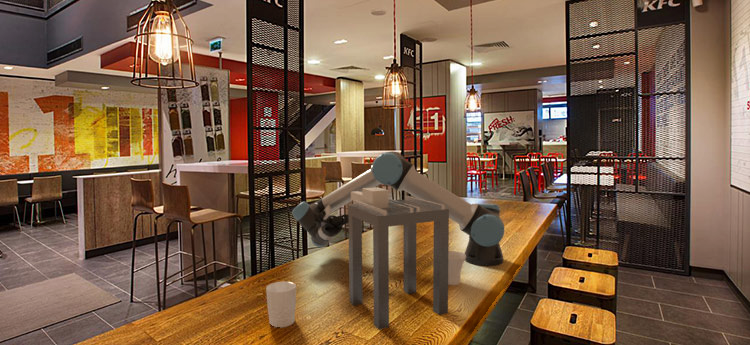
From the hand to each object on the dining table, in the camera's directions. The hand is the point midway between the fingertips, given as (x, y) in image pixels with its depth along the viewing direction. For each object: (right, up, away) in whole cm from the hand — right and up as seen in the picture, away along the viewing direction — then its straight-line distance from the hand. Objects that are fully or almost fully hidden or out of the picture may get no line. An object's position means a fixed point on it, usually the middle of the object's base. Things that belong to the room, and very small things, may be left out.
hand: (348, 207), depth 137 cm
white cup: (-16, -29, -26) cm, 43 cm away
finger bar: (+6, +2, -14) cm, 15 cm away
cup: (+36, -26, +3) cm, 44 cm away
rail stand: (+15, -28, -17) cm, 36 cm away
